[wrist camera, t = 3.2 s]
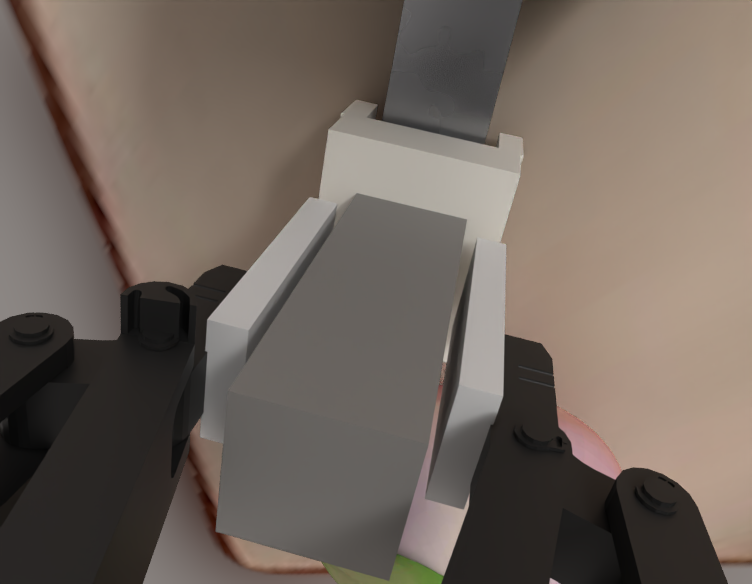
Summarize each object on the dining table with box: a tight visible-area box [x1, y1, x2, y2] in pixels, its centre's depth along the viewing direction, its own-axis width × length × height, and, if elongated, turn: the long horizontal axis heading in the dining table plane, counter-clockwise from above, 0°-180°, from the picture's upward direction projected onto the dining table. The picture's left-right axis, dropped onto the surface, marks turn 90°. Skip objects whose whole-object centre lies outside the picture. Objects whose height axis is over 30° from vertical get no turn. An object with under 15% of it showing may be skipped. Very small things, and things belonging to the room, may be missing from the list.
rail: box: [382, 0, 523, 144], centre depth 19 cm, size 12×3×2 cm, turn 170°
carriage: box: [216, 100, 524, 581], centre depth 16 cm, size 6×5×13 cm
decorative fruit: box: [322, 385, 622, 584], centre depth 21 cm, size 9×8×10 cm
